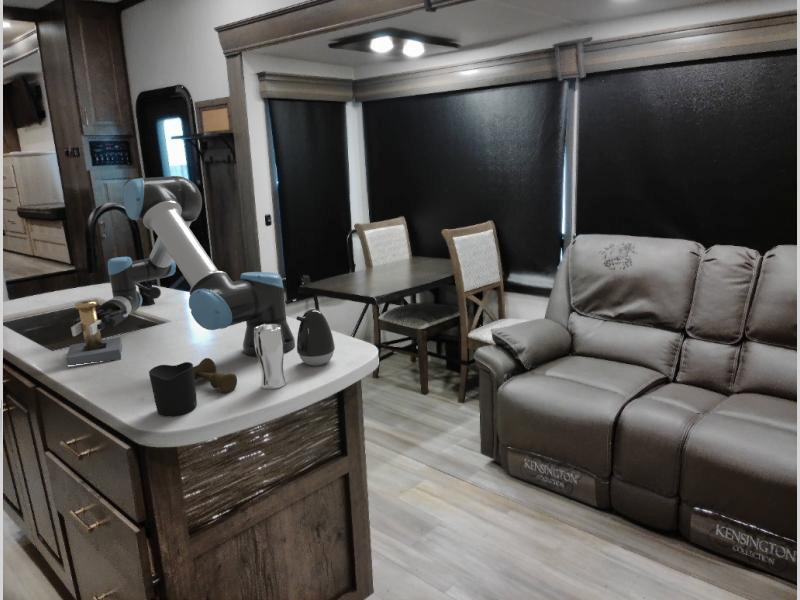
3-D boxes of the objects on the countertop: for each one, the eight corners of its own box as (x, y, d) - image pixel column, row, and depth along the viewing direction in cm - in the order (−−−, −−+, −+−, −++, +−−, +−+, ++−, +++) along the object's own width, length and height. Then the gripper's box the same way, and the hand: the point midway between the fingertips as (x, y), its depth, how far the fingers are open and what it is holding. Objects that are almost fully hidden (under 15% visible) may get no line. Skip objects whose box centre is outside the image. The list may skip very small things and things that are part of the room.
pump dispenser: (290, 364, 161) (284, 311, 158) (319, 353, 169) (314, 302, 165) (314, 372, 155) (308, 316, 151) (343, 360, 162) (339, 307, 158)
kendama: (215, 401, 141) (165, 384, 152) (246, 388, 148) (197, 373, 159) (213, 378, 139) (163, 362, 150) (244, 366, 147) (195, 352, 158)
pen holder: (175, 421, 130) (168, 378, 127) (146, 413, 134) (139, 372, 132) (207, 404, 138) (201, 364, 135) (179, 398, 142) (173, 359, 140)
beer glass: (279, 391, 143) (272, 332, 139) (254, 389, 145) (247, 331, 142) (292, 380, 149) (287, 324, 146) (269, 378, 152) (262, 322, 148)
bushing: (105, 350, 176) (96, 302, 172) (83, 354, 173) (73, 305, 170) (106, 345, 181) (97, 298, 177) (84, 348, 179) (75, 301, 175)
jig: (121, 359, 174) (119, 349, 173) (67, 368, 169) (65, 358, 168) (122, 346, 187) (120, 337, 186) (72, 354, 181) (70, 344, 181)
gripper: (143, 319, 194) (115, 341, 171) (89, 323, 193) (53, 345, 171) (140, 297, 192) (110, 316, 170) (85, 301, 191) (48, 320, 169)
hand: (82, 331), depth 170 cm, fingers closed on bushing, 4 cm apart
